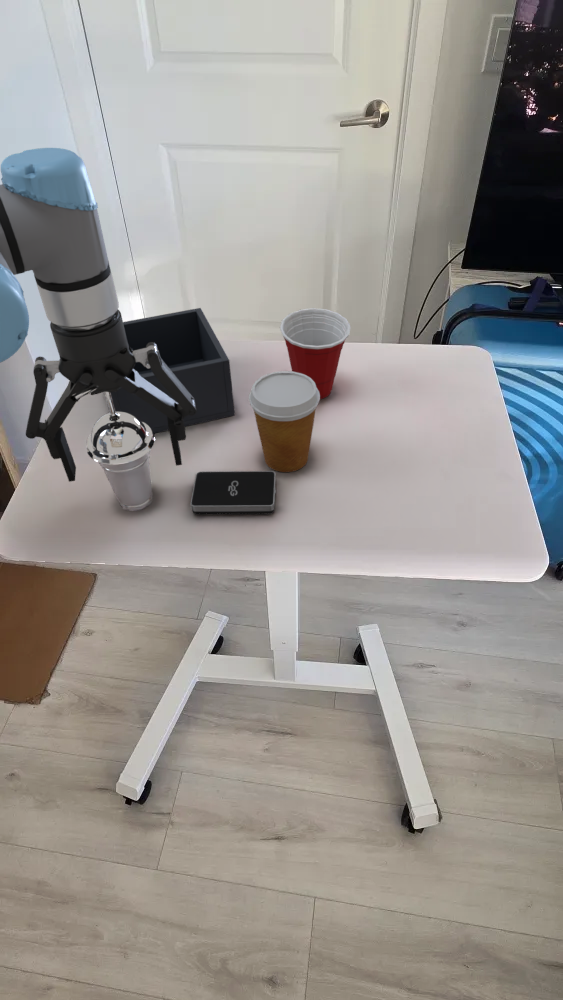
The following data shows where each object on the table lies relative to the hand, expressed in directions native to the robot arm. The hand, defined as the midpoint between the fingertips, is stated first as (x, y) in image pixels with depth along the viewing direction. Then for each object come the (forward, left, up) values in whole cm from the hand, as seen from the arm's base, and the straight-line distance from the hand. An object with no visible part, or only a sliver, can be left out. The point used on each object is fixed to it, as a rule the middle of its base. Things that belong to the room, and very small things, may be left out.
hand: (125, 466), depth 81 cm
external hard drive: (+13, -3, -6) cm, 15 cm away
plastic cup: (+30, +20, -6) cm, 37 cm away
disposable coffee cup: (+22, +4, -6) cm, 23 cm away
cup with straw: (0, 0, -6) cm, 6 cm away
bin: (+6, +24, -6) cm, 25 cm away
